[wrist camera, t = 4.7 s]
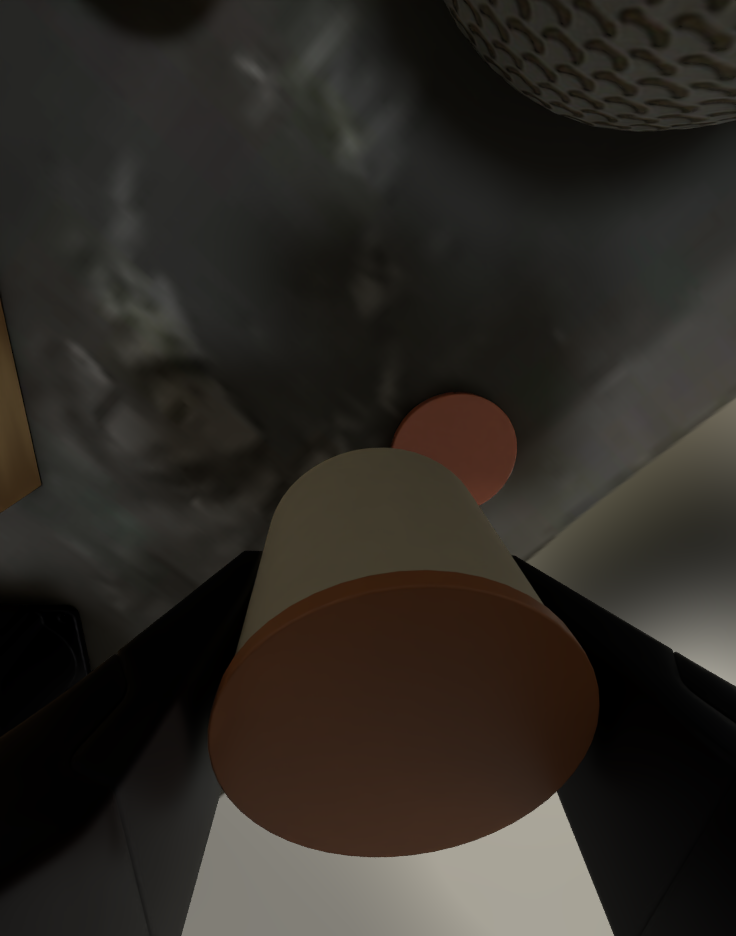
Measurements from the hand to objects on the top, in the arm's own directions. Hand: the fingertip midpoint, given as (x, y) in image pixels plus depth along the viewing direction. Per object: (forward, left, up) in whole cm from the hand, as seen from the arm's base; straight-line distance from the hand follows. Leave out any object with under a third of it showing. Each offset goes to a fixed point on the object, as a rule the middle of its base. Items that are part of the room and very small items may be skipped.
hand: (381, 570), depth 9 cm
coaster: (-1, -5, -12) cm, 13 cm away
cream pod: (0, 0, -1) cm, 1 cm away
